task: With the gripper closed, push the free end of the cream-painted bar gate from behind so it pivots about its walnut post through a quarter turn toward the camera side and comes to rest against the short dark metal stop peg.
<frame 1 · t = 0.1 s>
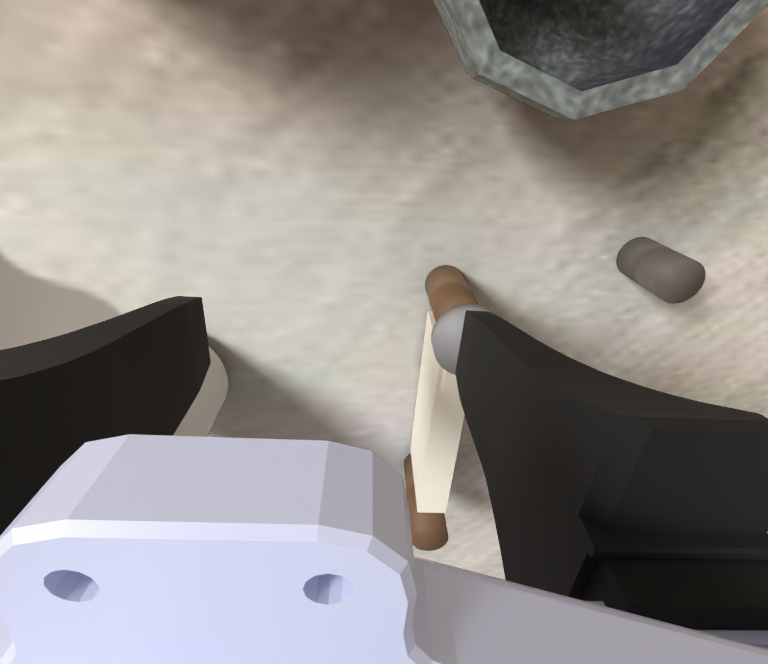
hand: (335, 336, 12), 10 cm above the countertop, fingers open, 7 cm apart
posts: (444, 283, 22), on the countertop
beverage can: (176, 368, 24), on the countertop
gate: (442, 399, 21), point 3 cm above the countertop, hinge at 0.0°
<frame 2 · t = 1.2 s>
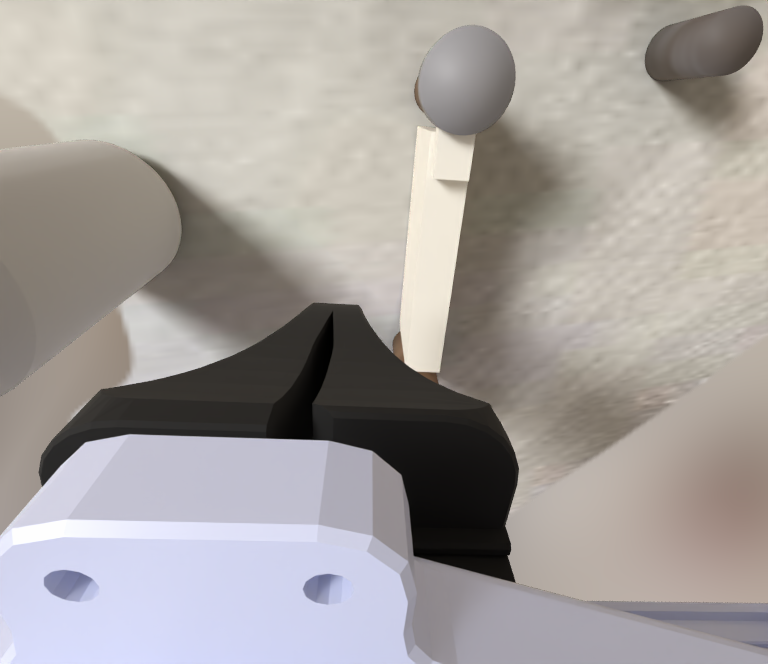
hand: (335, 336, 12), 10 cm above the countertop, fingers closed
posts: (437, 90, 18), on the countertop
beverage can: (120, 211, 20), on the countertop
gate: (434, 222, 17), point 3 cm above the countertop, hinge at 0.0°
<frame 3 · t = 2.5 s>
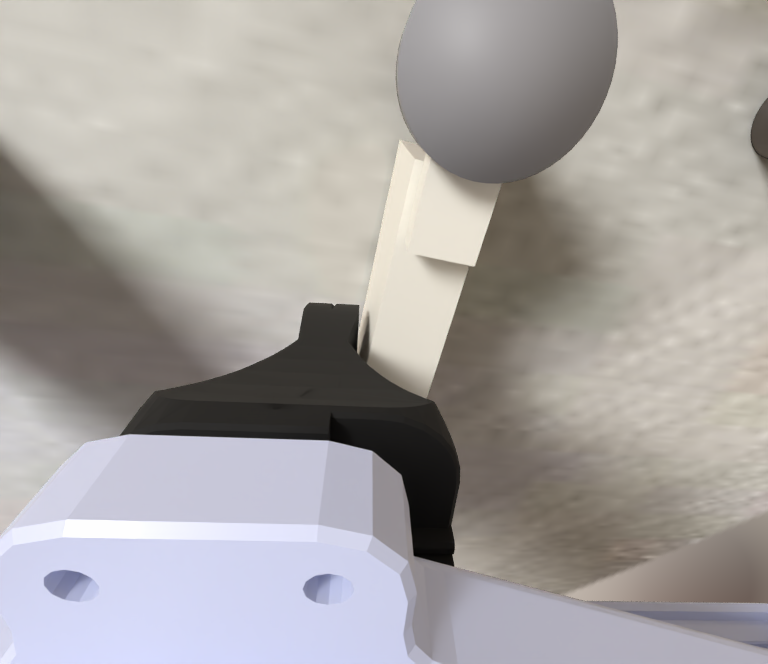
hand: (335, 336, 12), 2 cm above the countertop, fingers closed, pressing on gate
posts: (439, 88, 11), on the countertop
gate: (404, 305, 10), point 3 cm above the countertop, hinge at 4.2°, touching gripper
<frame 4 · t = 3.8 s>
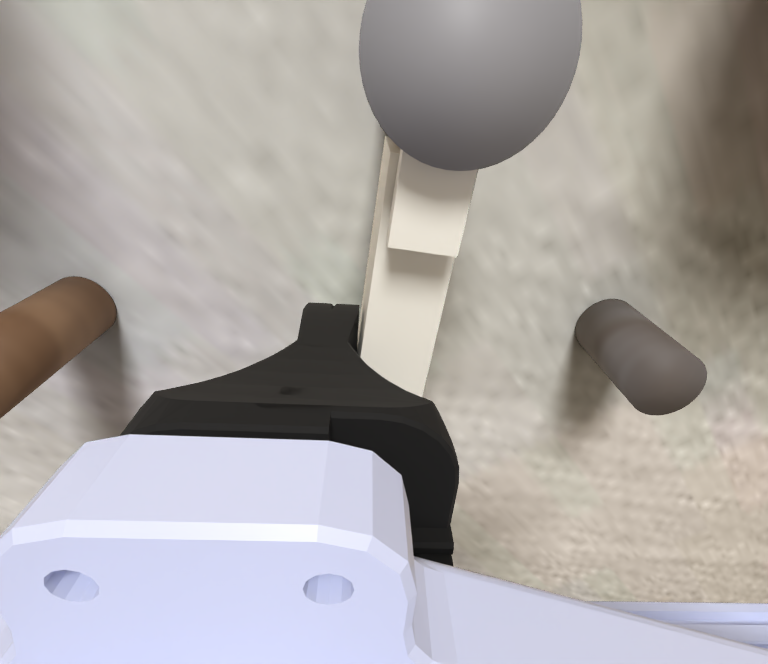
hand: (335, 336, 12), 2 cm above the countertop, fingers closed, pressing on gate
posts: (421, 81, 11), on the countertop
gate: (397, 301, 10), point 3 cm above the countertop, hinge at 51.0°, touching gripper
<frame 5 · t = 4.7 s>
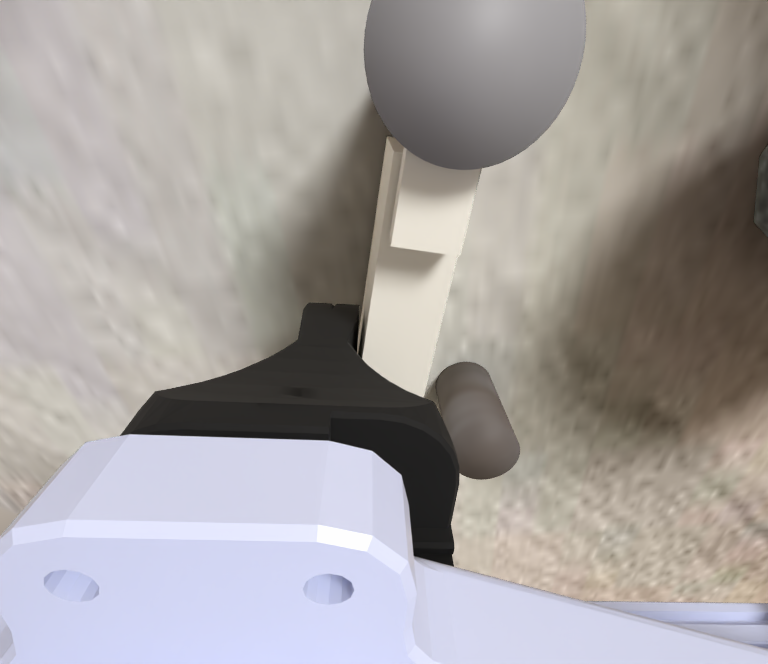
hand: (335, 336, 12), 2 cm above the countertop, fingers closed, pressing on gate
posts: (423, 81, 11), on the countertop
gate: (398, 301, 10), point 3 cm above the countertop, hinge at 82.1°, touching gripper
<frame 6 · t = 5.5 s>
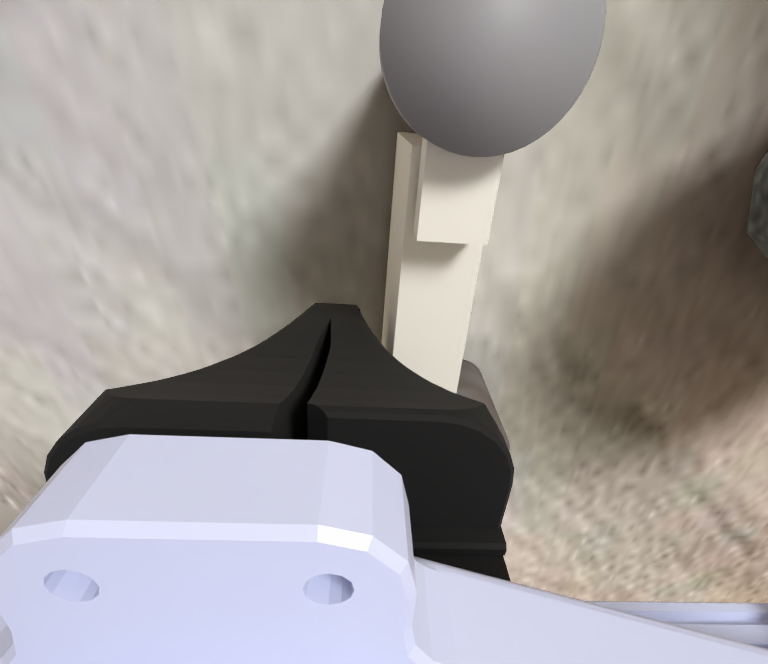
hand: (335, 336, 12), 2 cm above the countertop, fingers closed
posts: (430, 73, 11), on the countertop
gate: (423, 296, 10), point 3 cm above the countertop, hinge at 89.9°, touching gripper
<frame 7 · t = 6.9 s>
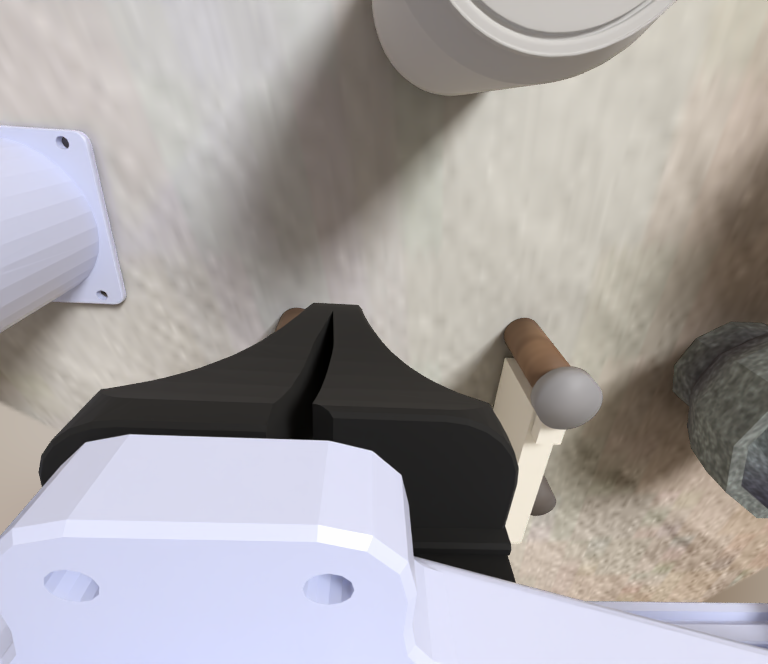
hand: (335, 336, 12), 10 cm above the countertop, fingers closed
mortar and pestle: (730, 355, 25), on the countertop
posts: (521, 334, 24), on the countertop
beverage can: (450, 5, 17), on the countertop
gate: (522, 440, 23), point 3 cm above the countertop, hinge at 89.9°
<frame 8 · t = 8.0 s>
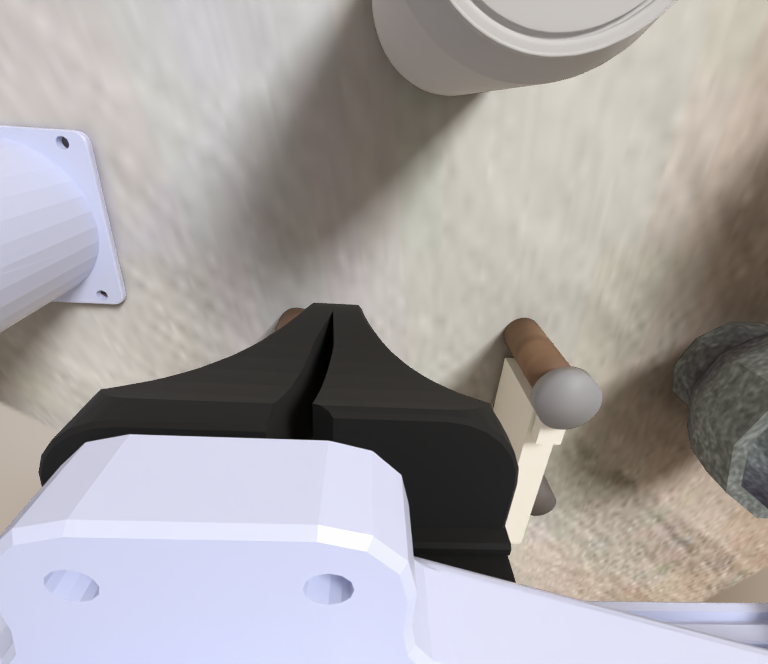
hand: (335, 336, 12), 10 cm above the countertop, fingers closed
mortar and pestle: (730, 355, 25), on the countertop
posts: (521, 334, 24), on the countertop
beverage can: (450, 5, 17), on the countertop
gate: (522, 440, 23), point 3 cm above the countertop, hinge at 89.9°
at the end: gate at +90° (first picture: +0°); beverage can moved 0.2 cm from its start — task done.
